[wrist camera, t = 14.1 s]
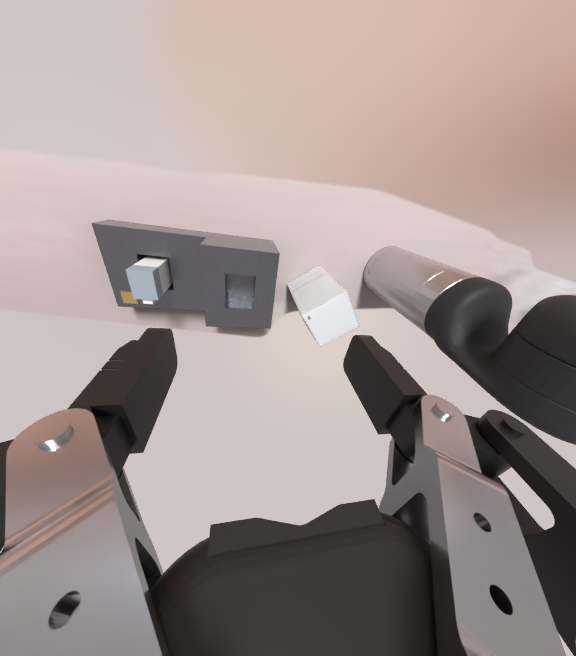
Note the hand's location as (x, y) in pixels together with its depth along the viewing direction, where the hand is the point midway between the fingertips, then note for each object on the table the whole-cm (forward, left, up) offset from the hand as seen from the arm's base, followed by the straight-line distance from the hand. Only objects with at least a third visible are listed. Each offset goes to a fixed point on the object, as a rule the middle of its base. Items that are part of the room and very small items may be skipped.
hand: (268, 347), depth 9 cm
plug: (+11, +11, -29) cm, 33 cm away
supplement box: (-14, +4, -30) cm, 34 cm away
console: (+6, +9, -30) cm, 32 cm away
